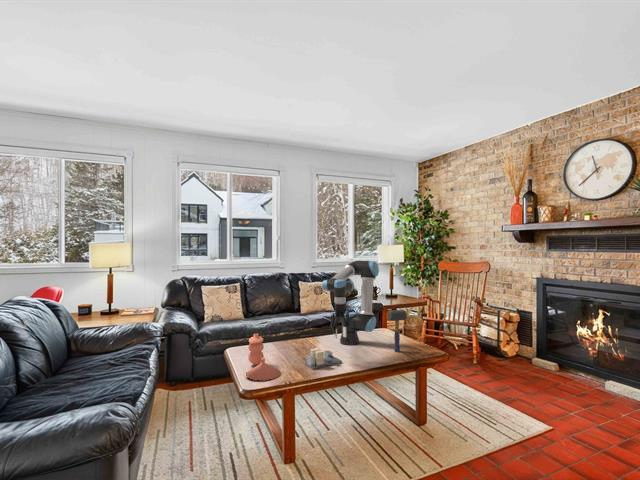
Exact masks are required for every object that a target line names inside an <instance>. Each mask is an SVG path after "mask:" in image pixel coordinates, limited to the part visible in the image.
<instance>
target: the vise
mask: <svg viewBox="0 0 640 480" xmlns="http://www.w3.org/2000/svg"><path fill="white" fill-rule="evenodd" d="M339 364H343V360H342V359H340V358H338V357H336V356H334V358H333V359H332V361H329V362H328V361H326V360H324V364H322V365H318V366H317V365H315V356H314V355H312V354H311V353H310V354H306V361H305V362H304V365H305V366H306V367H308V368H309V369H311V370H318V369H322V368H326V367H330V366H335V365H339Z"/></svg>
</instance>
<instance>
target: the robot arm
mask: <svg viewBox="0 0 640 480" xmlns="http://www.w3.org/2000/svg"><path fill="white" fill-rule="evenodd" d="M379 270H380V268H379V265H378V263H377V262H376V261H375V260H354V261H352V262H349V263H347V264H346V265H345V266H344V268H343V269H342V270H341V271H339V272H338V273H336V274H335V275H334V276H333V277H331V278H330V279H324V280H323V281H322V283H321V287H322V290H323V291H326V292H334V300H333V302H334V311H333V312H331V313H330V316H331V317H330V328H331V329H332V334H333V339H334V340H337V339H338V328H337V326H338V323H339V320H340V318H341V335H340V338H339V343H340V344H342V345H347V346H353V345H358V344H360V339H359V335H358V331H362V332H365V333H368V332H369V333H371V332H373V331H374V330H375V329H376V325H377V318H376V317H375V314H374V313H373V298H374V297H373V295H374V281H375V280H376V277H377V276H379V272H380V271H379ZM353 276H360V279H361V280H362V281H361V282H362V283H361V284H362V285H361V301H360V311H359V312H358V313H357V312H355V311H353V312H352V311H351V312H350V311H349V310H346V307H347V304H346V301H347V299H346V294H347V293H350V292H352V291H354V289H355V284H354V282H353V281H351V280H348V279H349V278H350V277H353Z"/></svg>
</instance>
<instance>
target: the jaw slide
mask: <svg viewBox="0 0 640 480" xmlns="http://www.w3.org/2000/svg"><path fill="white" fill-rule="evenodd" d="M323 351H324V360H326V361H328V362H329V361H332V359H333V358H334V357H335V356H334V355H333V352H332V351H331V350H323Z"/></svg>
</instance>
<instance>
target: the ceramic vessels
mask: <svg viewBox="0 0 640 480" xmlns="http://www.w3.org/2000/svg"><path fill="white" fill-rule="evenodd" d="M248 342H249V344H248V347H247V348H248V350H249V354H248V361H249V363H250V364H252V365H255V367H253V368H251V369H250V370H247V371H246V372H245V374H246V376H247V377H248V378H250V379H249V380H251V379H253V380H252V381H257V380H260V381H262V380H263V381H269V379H270V380H273V379H276V378H278V377H280V376H281V375H282V374H281V373H282V372H281V370H280V369H278V368H276V367H275V366H271V365H269V364H268V363H266V358H265V355H264V353H263V352H262V351H263V350H264V348H265V345H264V344H263V342H264V338H263V337H262V336H259V333H253V336H252V337H250V338H249V339H248ZM246 376H245V377H246ZM247 377H246V378H247ZM248 378H247V379H248ZM260 381H259V382H260Z"/></svg>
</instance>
